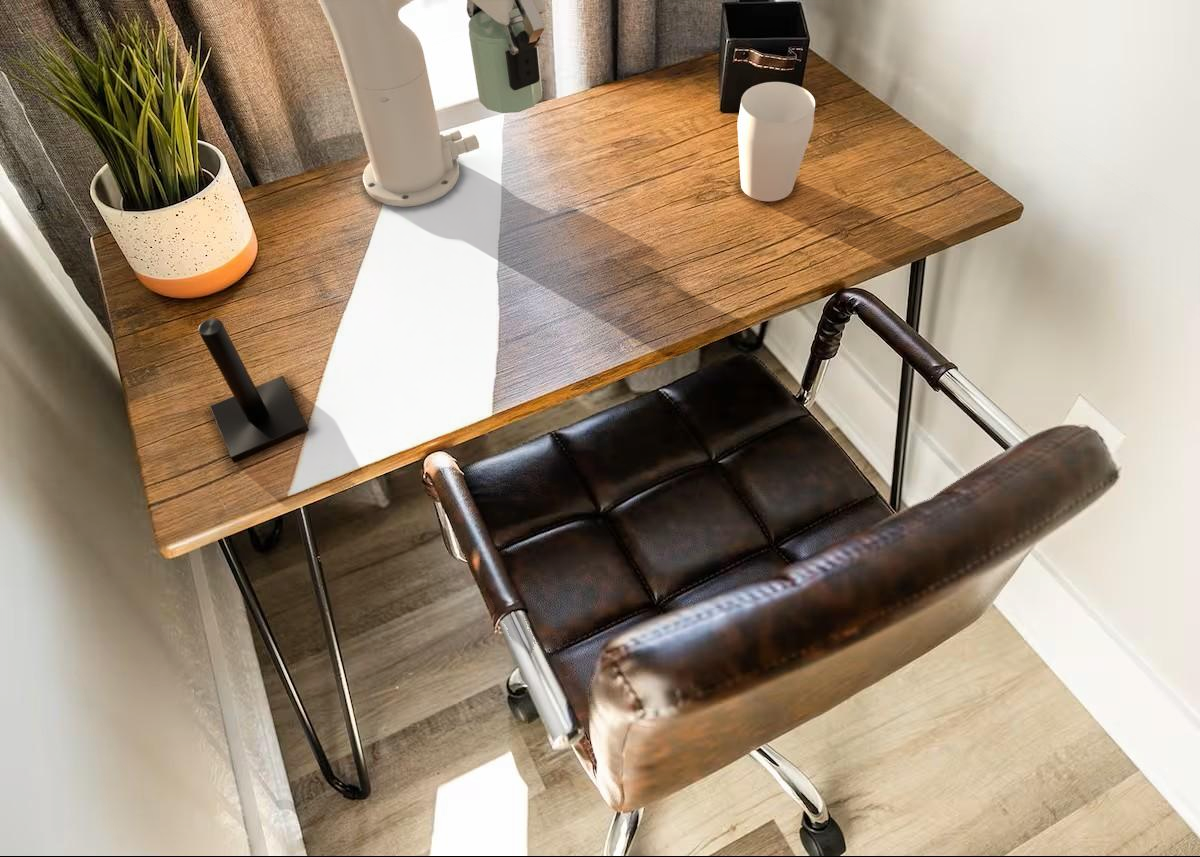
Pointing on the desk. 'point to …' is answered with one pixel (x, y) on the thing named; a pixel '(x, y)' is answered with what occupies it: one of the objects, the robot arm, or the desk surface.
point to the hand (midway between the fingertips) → (507, 67)
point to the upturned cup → (498, 66)
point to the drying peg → (249, 401)
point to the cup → (773, 138)
